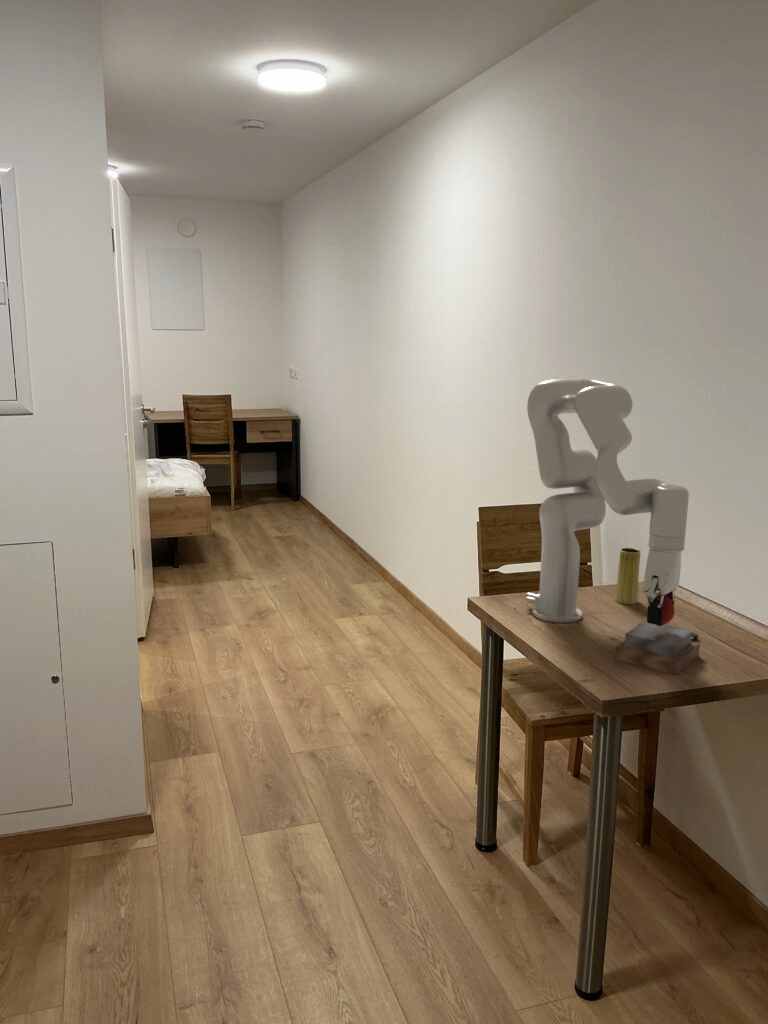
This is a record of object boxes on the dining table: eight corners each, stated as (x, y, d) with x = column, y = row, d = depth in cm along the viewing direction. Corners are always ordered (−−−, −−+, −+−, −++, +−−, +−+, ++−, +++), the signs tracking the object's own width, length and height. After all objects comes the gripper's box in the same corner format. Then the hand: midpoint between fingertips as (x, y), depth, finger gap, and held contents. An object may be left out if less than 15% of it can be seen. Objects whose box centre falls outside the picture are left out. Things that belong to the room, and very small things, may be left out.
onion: (666, 621, 198) (668, 587, 197) (677, 630, 193) (680, 595, 191) (641, 622, 198) (644, 588, 196) (652, 631, 192) (655, 596, 190)
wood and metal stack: (614, 659, 196) (616, 633, 194) (639, 642, 206) (641, 617, 205) (676, 675, 187) (678, 648, 186) (698, 656, 198) (701, 631, 197)
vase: (642, 603, 235) (646, 552, 232) (621, 605, 233) (625, 553, 230) (631, 596, 241) (634, 546, 237) (610, 598, 239) (614, 547, 236)
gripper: (664, 532, 200) (657, 607, 204) (634, 546, 187) (628, 626, 191) (697, 537, 195) (690, 614, 199) (669, 552, 182) (661, 634, 186)
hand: (659, 619), depth 195 cm, fingers closed on onion, 5 cm apart
